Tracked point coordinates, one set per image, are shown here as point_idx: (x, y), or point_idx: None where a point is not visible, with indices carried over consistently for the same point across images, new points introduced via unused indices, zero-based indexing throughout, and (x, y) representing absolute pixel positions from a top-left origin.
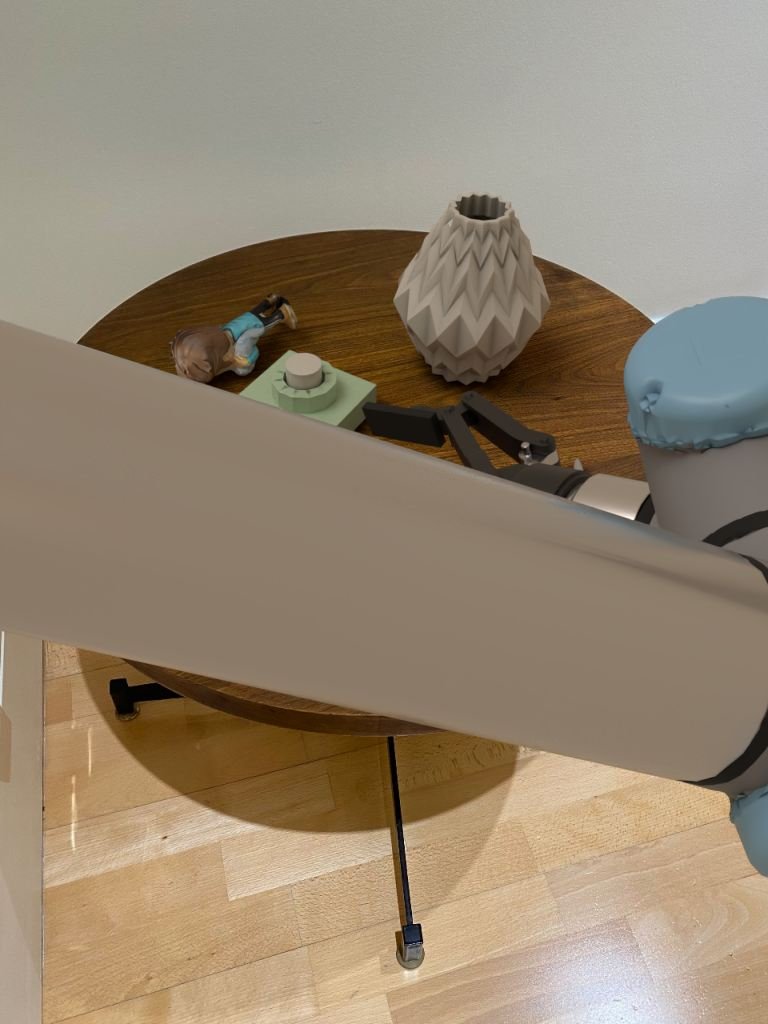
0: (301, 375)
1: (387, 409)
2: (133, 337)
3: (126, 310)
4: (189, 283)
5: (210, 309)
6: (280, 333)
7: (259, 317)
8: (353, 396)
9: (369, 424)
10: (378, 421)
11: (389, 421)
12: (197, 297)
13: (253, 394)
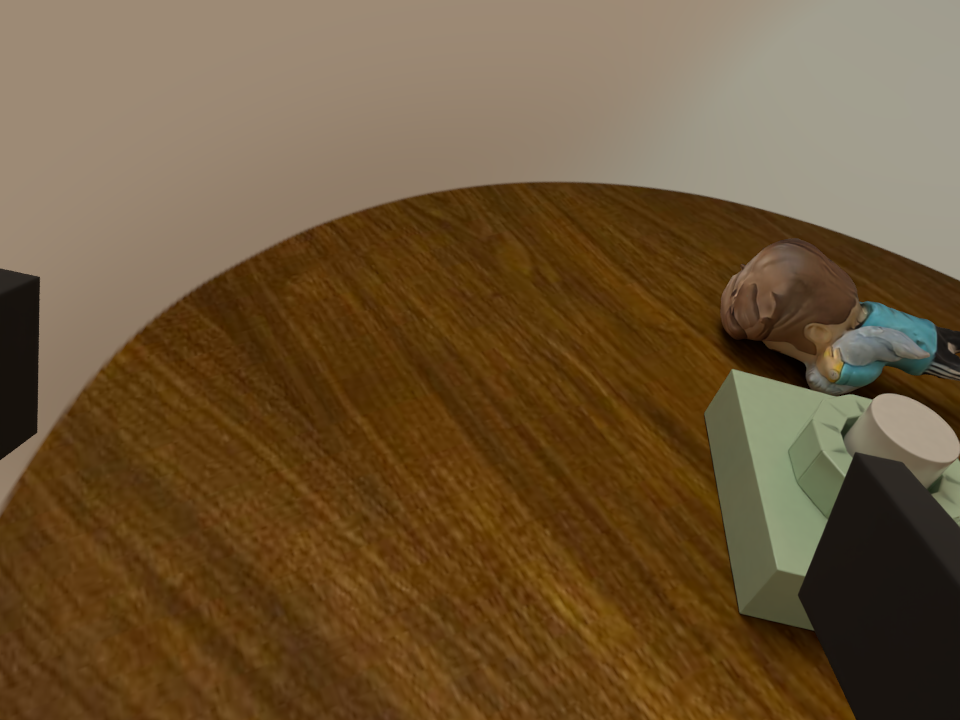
0: (884, 433)
1: (938, 538)
2: (747, 235)
3: (784, 216)
4: (905, 267)
5: (890, 306)
6: (951, 415)
7: (941, 343)
8: None
9: (822, 542)
10: (857, 556)
11: (892, 593)
12: (892, 284)
13: (776, 397)
